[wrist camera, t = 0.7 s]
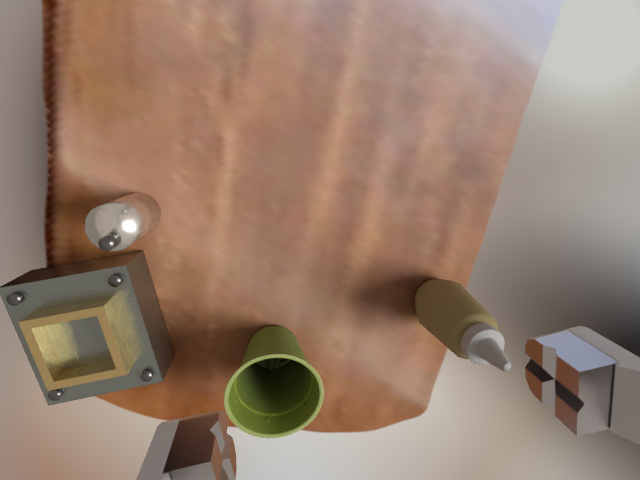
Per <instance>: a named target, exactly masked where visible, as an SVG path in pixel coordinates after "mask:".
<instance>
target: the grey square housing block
mask: <svg viewBox="0 0 640 480" xmlns="http://www.w3.org/2000/svg"><path fill="white" fill-rule="evenodd" d="M0 295H1V297H2V299H3V302H4V304H5V306H6V309H7V311H8V313H9V316H10V318H11V320H12V322H13V325H14V327H15V329H16V332H17V334H18V336H19V339H20V341H21V343H22V346H23V348H24V350H25V352H26V355H27V357H28V360H29V362H30V364H31V366H32V369H33V371H34V373H35V376H36V378H37V380H38V383H39V385H40V387H41V390H42V392H43V394H44V397H45V399H46V401H47V403H48V405H54V404H58V403H63V402H68V401H72V400H77V399H82V398H87V397H92V396H96V395H101V394H106V393H111V392H116V391H120V390H125V389H130V388H135V387H139V386H144V385H149V384H154V383H159V382H163V380H164V378H165V376H166V374H167V371H168V369H169V367H170V365H171V362H172V360H173V358H174V356H175V355H174V351H173V348H172V345H171V341H170V338H169V335H168V331H167V328H166V325H165V321H164V318H163V315H162V311H161V308H160V305H159V301H158V298H157V295H156V292H155V288H154V285H153V282H152V278H151V275H150V272H149V268H148V265H147V262H146V258H145V255H144V252H143V251H137V252H132V253H126V254H120V255H115V256H109V257H103V258H98V259H92V260H86V261H81V262H75V263H69V264H64V265H58V266H52V267H47V268H41V269H35V270H31V271H29V272H27V273H25V274H23V275H22V276H20V277H18V278H16V279H14V280H12V281H11V282H9V283H7V284H5V285H3V286H1V287H0Z"/></svg>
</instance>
